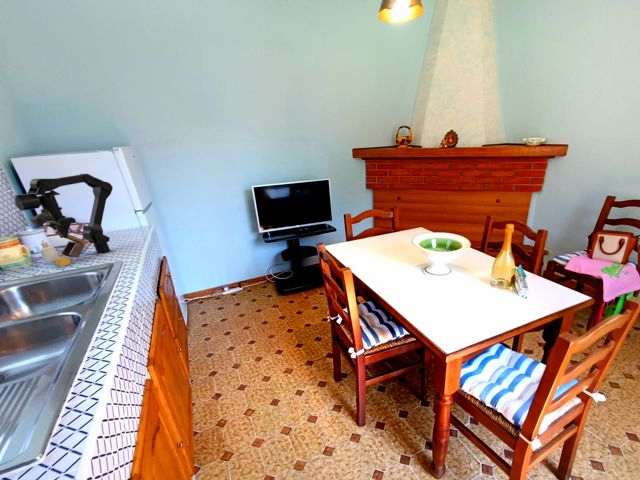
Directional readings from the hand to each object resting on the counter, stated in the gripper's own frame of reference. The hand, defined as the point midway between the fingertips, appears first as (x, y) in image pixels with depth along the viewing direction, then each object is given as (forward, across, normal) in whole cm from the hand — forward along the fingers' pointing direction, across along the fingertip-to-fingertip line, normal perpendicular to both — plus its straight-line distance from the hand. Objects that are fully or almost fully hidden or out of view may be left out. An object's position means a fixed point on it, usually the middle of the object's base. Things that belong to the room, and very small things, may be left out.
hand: (64, 237), depth 146 cm
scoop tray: (+7, 0, +4) cm, 8 cm away
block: (+9, 0, -5) cm, 10 cm away
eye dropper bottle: (+13, -12, -3) cm, 18 cm away
